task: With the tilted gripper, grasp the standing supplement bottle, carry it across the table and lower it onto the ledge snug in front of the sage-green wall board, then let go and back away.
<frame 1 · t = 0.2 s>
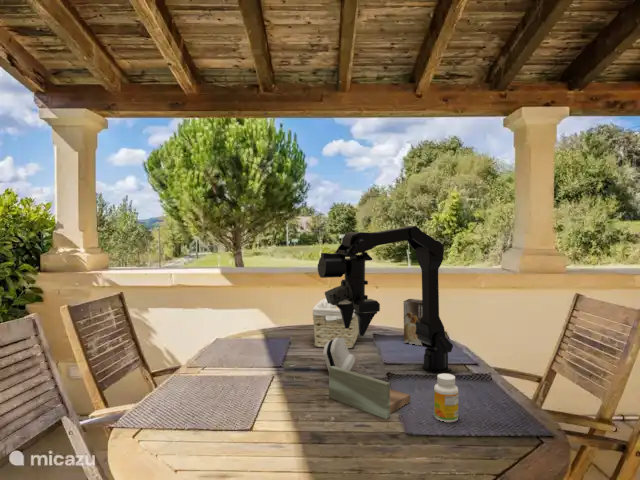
hand: (354, 331, 124), 14 cm above the table, tool pointing down, fingers open, 9 cm apart
wall board ledge: (369, 401, 112), on the table
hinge: (339, 368, 138), on the table
storage basket: (338, 341, 169), on the table
coffee box: (417, 343, 164), on the table
supplement bottle: (446, 418, 102), on the table
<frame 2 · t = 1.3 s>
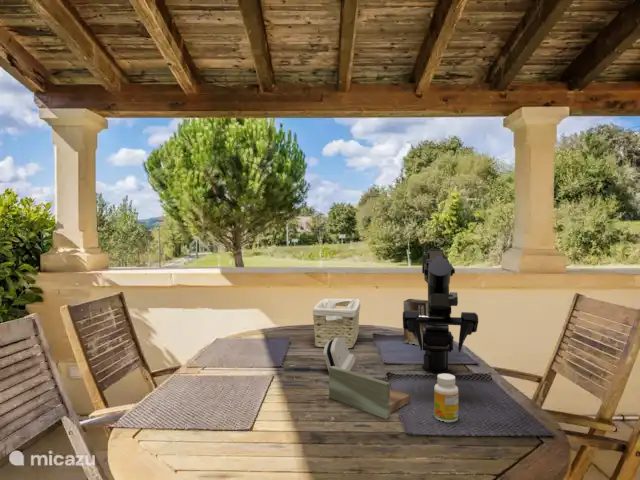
hand: (440, 350, 109), 13 cm above the table, tool tilted 45°, fingers open, 9 cm apart
nothing on the table moved.
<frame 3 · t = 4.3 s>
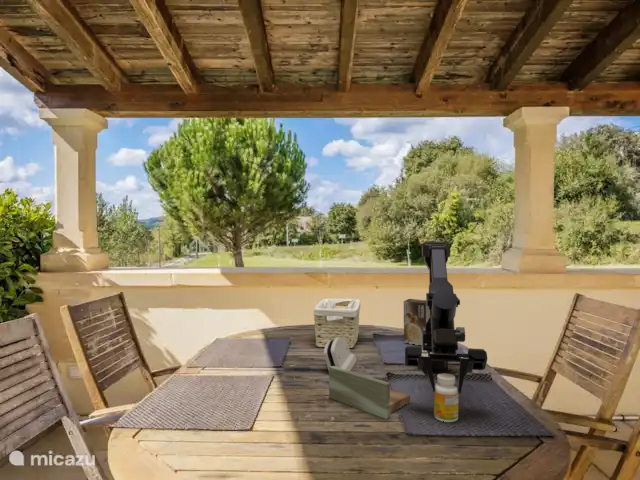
hand: (446, 391, 100), 7 cm above the table, tool tilted 45°, fingers closed on supplement bottle, 5 cm apart
supplement bottle: (446, 418, 102), on the table, touching gripper
everything else where it was.
when the fingers open (10 cm above the table, at t = 8.1 s): supplement bottle stays where it is, resting on wall board ledge.
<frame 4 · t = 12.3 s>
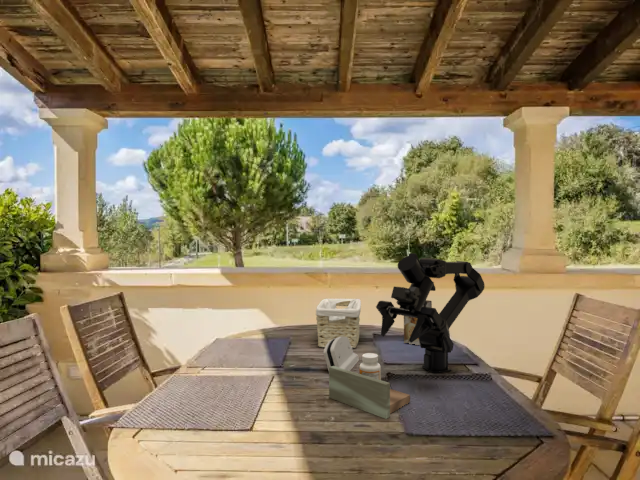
hand: (395, 338, 120), 14 cm above the table, tool tilted 45°, fingers open, 9 cm apart
supplement bottle: (370, 393, 112), point 2 cm above the table, touching wall board ledge
at the end: supplement bottle inside the target area on the wall board ledge (0.1 cm from its centre), point 1.8 cm above the wall board ledge's base; supplement bottle tilted 0°; the gripper is holding nothing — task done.
